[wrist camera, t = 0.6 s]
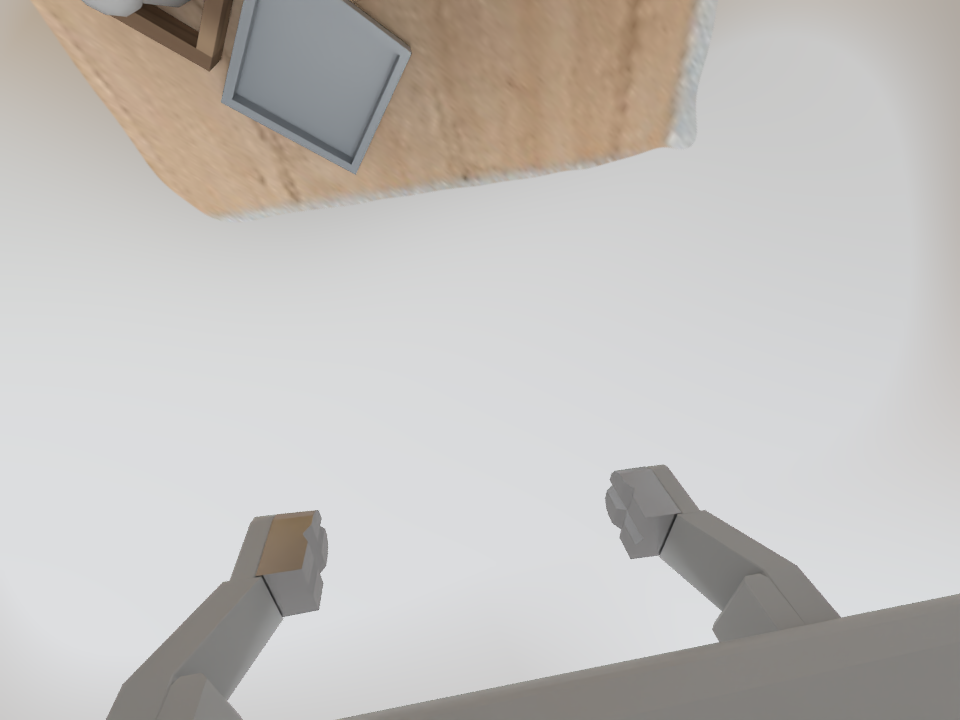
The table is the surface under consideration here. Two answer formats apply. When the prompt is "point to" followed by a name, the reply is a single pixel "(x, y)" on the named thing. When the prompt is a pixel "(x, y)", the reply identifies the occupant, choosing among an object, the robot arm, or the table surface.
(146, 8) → the socket block
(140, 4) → the salt shaker
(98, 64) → the table surface
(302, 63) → the tray
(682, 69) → the table surface
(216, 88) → the table surface
